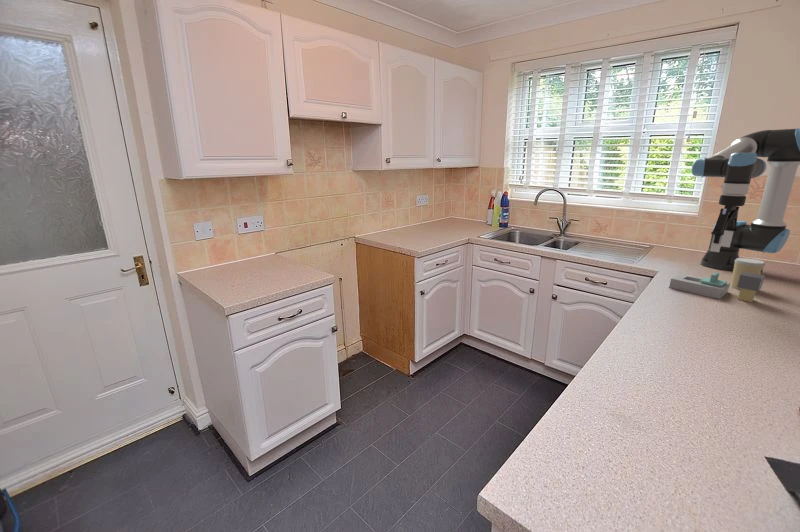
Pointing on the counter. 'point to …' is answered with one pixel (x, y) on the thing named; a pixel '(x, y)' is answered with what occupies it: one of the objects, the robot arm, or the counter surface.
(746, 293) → the plug
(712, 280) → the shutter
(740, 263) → the coffee cup
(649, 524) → the counter surface
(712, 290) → the socket plate
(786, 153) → the robot arm
